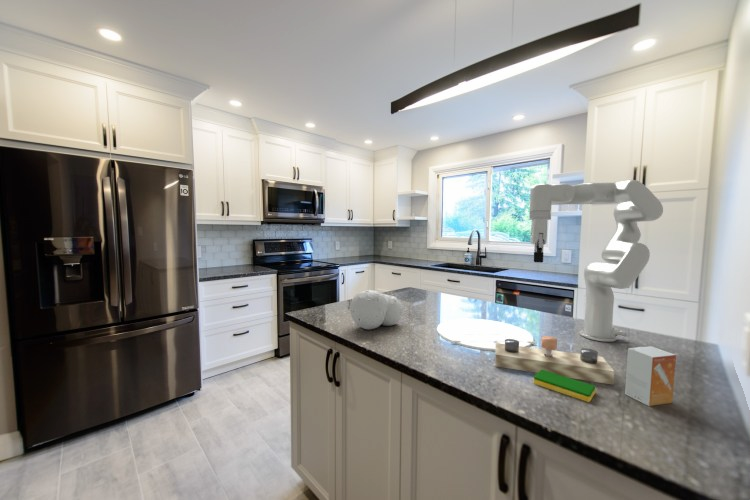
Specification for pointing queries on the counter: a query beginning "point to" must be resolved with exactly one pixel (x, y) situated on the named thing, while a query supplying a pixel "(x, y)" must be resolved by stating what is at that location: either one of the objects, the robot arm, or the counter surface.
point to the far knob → (511, 345)
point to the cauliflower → (375, 309)
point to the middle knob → (549, 344)
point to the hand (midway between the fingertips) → (538, 262)
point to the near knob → (588, 355)
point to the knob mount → (554, 364)
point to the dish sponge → (565, 385)
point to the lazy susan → (482, 333)
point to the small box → (650, 375)
